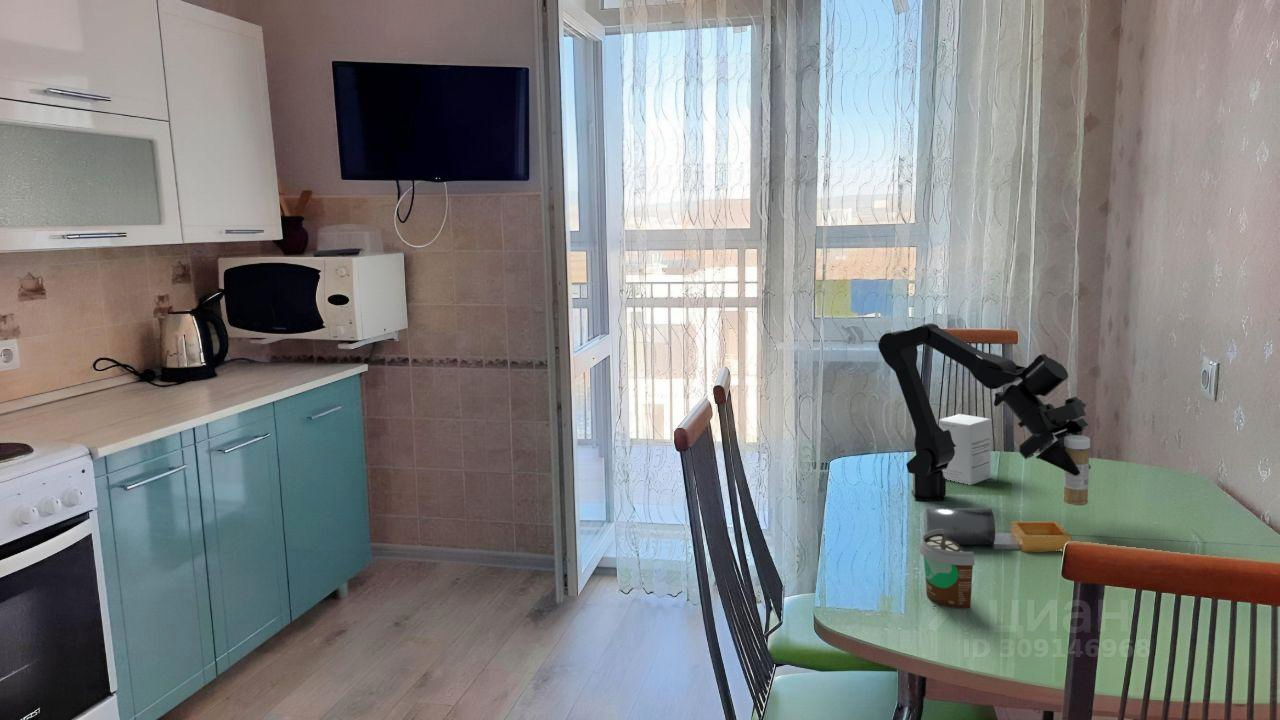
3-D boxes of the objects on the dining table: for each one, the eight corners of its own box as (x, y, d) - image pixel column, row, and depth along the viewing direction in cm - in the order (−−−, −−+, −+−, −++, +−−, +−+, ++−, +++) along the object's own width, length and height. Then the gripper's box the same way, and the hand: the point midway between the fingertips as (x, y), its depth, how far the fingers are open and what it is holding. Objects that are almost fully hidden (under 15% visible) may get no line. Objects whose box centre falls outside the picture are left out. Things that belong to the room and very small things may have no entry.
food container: (907, 585, 152) (907, 530, 150) (941, 582, 152) (941, 527, 151) (937, 615, 140) (937, 556, 138) (974, 612, 140) (974, 552, 139)
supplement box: (937, 478, 213) (937, 419, 211) (958, 471, 219) (958, 413, 216) (970, 486, 206) (970, 424, 204) (991, 478, 211) (992, 418, 209)
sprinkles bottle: (1073, 497, 176) (1075, 433, 174) (1093, 503, 172) (1095, 437, 170) (1057, 501, 174) (1059, 436, 172) (1077, 507, 170) (1079, 441, 168)
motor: (930, 551, 167) (930, 516, 166) (923, 535, 175) (923, 502, 174) (1070, 552, 163) (1071, 516, 162) (1056, 536, 171) (1057, 501, 170)
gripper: (1035, 392, 167) (1093, 458, 160) (1079, 378, 178) (1135, 439, 172) (996, 426, 174) (1049, 491, 167) (1041, 411, 186) (1092, 470, 179)
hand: (1083, 472), depth 171 cm, fingers closed on sprinkles bottle, 4 cm apart
